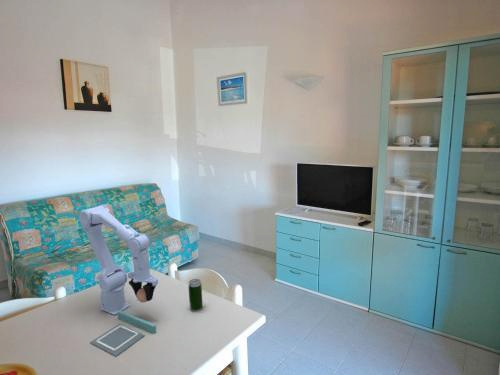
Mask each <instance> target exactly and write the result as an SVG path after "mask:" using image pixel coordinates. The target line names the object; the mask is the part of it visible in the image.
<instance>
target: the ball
mask: <svg viewBox="0 0 500 375" xmlns="http://www.w3.org/2000/svg"><path fill="white" fill-rule="evenodd" d="M136 300H138V301H139V302H140V303H146V302H148V301H147V299H146V293H145V290H144V289H143V287H142V288H141V289H139V290H138V292H137V297H136Z"/></svg>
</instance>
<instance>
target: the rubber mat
mask: <svg viewBox="0 0 500 375" xmlns="http://www.w3.org/2000/svg"><path fill="white" fill-rule="evenodd" d="M145 337H146V335H145V334H143V333H141V332H139V331H137V330H135V329H132V328H129V327H127V326H125V325H123V324H121V323H118V324H117V325H115V326H114V327H112V328H110V329H109V330H107V331H105V332H103V333H102V334H101V335H99V336H98V337H96V338H94V339H93V340H91V341H90V342H89V343H90V345H92V346H93V347H94V346H95V347H97V348H99V349H100V350H102V351H105V352H106V353H108V354H110V355H111V356H114V357H115V358H116V357H118V356H120V355H121V354H122V353H123V352H125V351H126V350H128V349H129V348H130V347H132V346H133V345H135V344H136V343H137V342H139V341H140V340H141V339H143V338H145Z"/></svg>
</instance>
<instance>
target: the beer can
mask: <svg viewBox="0 0 500 375" xmlns="http://www.w3.org/2000/svg"><path fill="white" fill-rule="evenodd" d="M188 299H189V300H188V303H189V309H190V311H192V312H199V311H201V310H202V309H203V284H202V281H201V279H199V278H193V279H190V280H189V281H188Z"/></svg>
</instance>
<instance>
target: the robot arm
mask: <svg viewBox="0 0 500 375" xmlns="http://www.w3.org/2000/svg"><path fill="white" fill-rule="evenodd" d="M78 220H79V222H80V225H81V227H82V229H83V231H84V232H85V233H86V234H85V235H86V236H87V238H88V241H89V243H90V246H91V247H92V250H93V252H94V255H95V257H96V259H97V262H98V264H99V266H100V269H101V270H100V272H99V274H98V276H97V279H98V283H99V284H98V285H99V288H100V290H101V292H100V301H101V307H100V308H99V309H100V310H101V311H104V312H106V313H108V314H111V315H112V316H115V315H118V314H117V312H118V311H119V310H121V311H124V310H125V309H127V308H129V307H130V306H131V304H130V303H127V302H126V296H125V295H126V294H125V286H126V283H127V281H128V279H131V280H129V281H128V284H129V285H130V287H131V288H132V290H133V293H134V295H135V297H136V298H137V292H138V290H139V289H141V288H143V289H144V290H145V293H146V299H147V302H150V301H152V300H153V297H154V292H155V289H156V286H157V285H159V280H158V278H155V276H153V275H152V274H151V271H150V258H149V247H150V246H151V245H152V240H151V238H150V236H149V235H148V234H146V233H141V232H138V231H136V230H135V229H134V228H133V227H132V226H130V224H122V223H121V221H119V220H118V219H117V218H116V217H115V216H114V215H113V214H111V210H110V209H109V208H108V207H107V206H106V205H103V204H101V205H98V206H94V207H90V208H86V209H82V210H81V211H80V213H79V216H78ZM103 226H106V227H108V228H110V229H112V231H114V232H116V237H117V238H119V239H120V240H121V241H122V242H124V243H126V244H127V247H128V250H129V251H130V254H131V255H130V256H131V257H132V261H133V262H132V264H133V271H131V272H128V273H126V271H125V270H124V269H123V267H122V265H120V264H116V263H115V261H114V258H113V256H112V254H111V251H110V249H109V247H108V245H107V243H106V240H105V238H104V235H103V232H102V227H103ZM143 283H146V284H144V285H143Z"/></svg>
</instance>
